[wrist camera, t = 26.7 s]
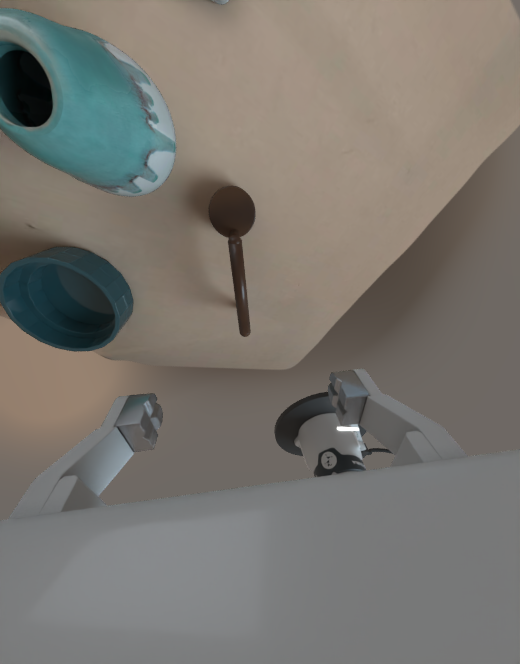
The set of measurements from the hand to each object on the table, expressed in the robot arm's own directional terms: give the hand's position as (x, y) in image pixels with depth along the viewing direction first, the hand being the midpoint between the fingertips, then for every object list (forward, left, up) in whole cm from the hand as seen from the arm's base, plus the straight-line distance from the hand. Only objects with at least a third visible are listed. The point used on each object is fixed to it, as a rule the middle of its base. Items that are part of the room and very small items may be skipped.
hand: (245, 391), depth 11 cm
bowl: (+8, +24, -29) cm, 38 cm away
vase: (+17, +3, -29) cm, 34 cm away
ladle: (-1, +1, -29) cm, 29 cm away
